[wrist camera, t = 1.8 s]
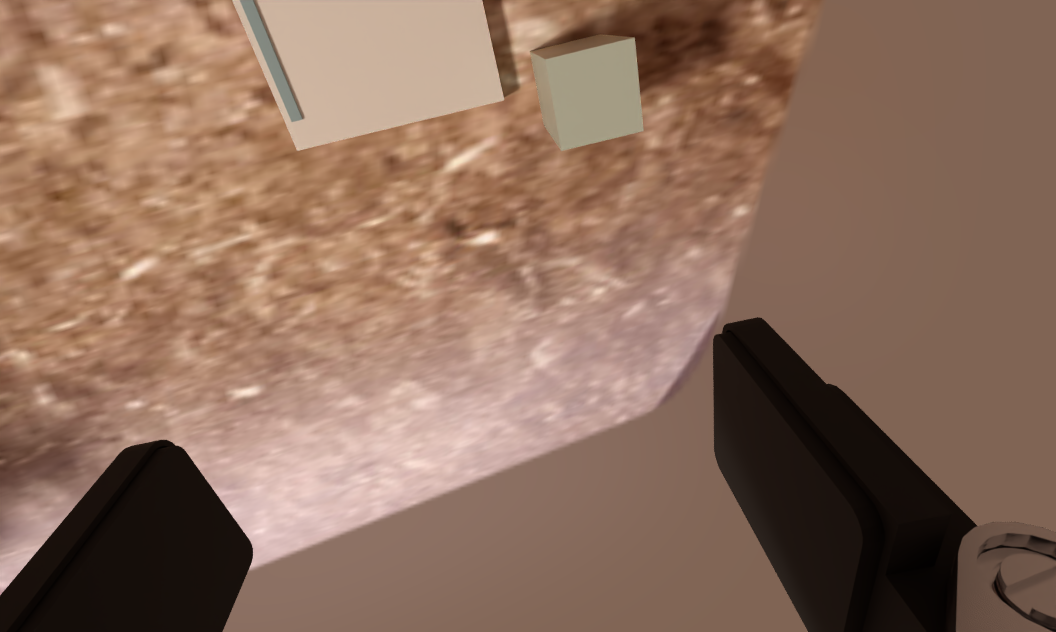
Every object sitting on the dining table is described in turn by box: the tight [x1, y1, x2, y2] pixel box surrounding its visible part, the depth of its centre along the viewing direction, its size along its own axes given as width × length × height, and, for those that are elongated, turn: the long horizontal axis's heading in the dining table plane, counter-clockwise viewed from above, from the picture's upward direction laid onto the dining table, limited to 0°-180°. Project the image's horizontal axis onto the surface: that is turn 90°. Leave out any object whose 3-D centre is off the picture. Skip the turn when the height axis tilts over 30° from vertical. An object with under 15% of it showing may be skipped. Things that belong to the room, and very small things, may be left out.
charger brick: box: [530, 34, 643, 151], centre depth 27 cm, size 4×4×7 cm
